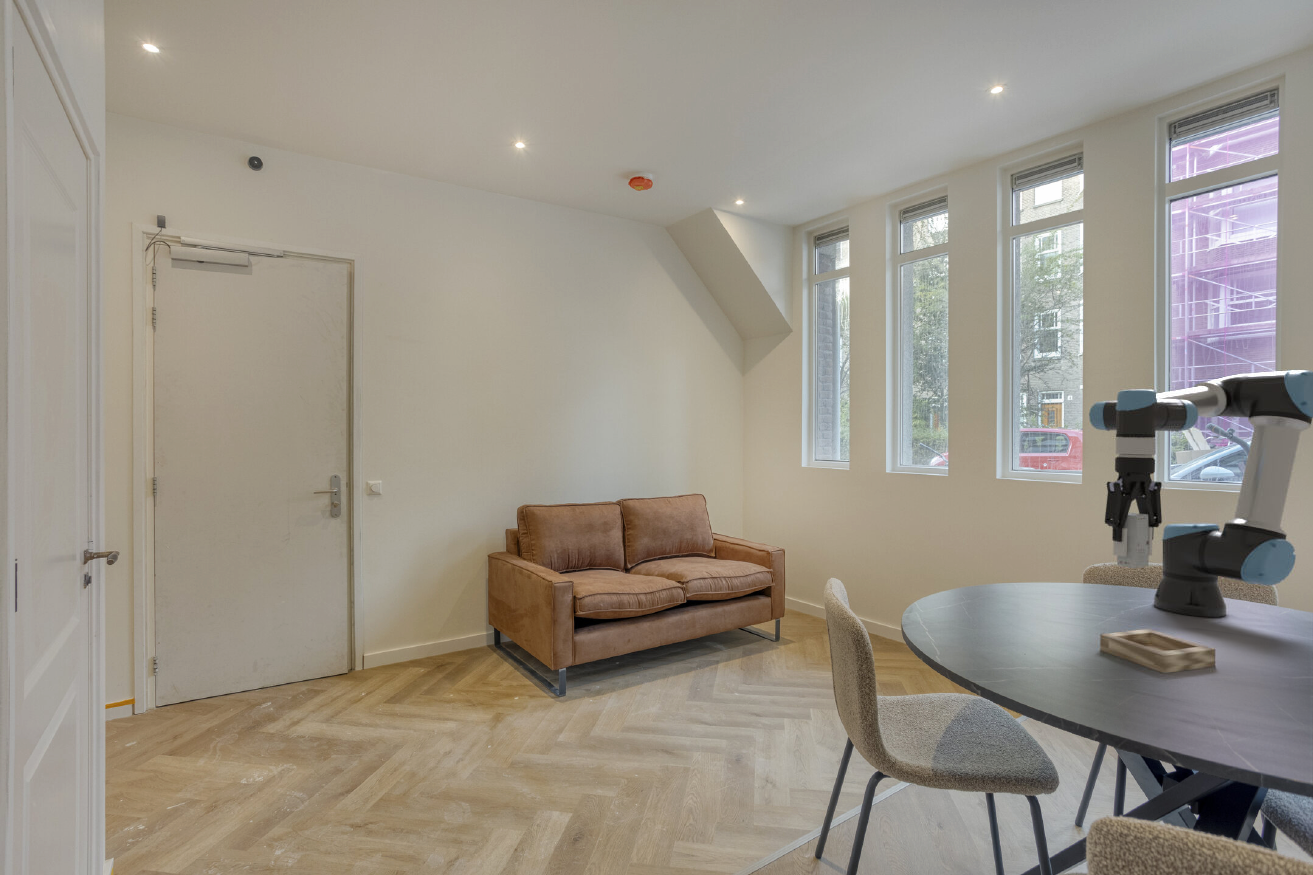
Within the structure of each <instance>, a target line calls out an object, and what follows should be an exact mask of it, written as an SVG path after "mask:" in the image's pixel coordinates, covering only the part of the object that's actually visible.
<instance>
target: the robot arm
mask: <svg viewBox="0 0 1313 875" xmlns="http://www.w3.org/2000/svg"><path fill="white" fill-rule="evenodd" d="M1116 396H1117V397H1116V400H1104V401H1097V402H1096V403H1093V405H1092V406H1091V407H1090V409H1089V412H1088V416H1089V417H1088V418H1089V422H1090V425H1092V427H1093V428H1094V429H1096V430H1099V431H1106V432H1109V431H1116V434H1115V437H1116V438H1115V454H1116V455H1118V456H1116V457H1115V458H1114V459H1115V460H1114V462H1115V463H1114V471H1115V472H1116V473H1118V475H1117V479H1116V481H1107V482H1106V490H1107V495H1106V496H1107V497H1106V507H1105V514H1104V524H1106V525H1107V526H1108V527H1112V539H1111V540H1112V541H1113V547H1112V548H1113V549H1112V555H1114V556H1117V555H1118V556H1122V557H1127V528H1124V526H1125V522H1126V519H1127V516H1128V513H1130V512H1129V511H1130V509H1131V506H1132V503H1133V501H1135V502H1136V506H1137V510H1138V514H1148V533H1149V535H1148V536H1149V556H1153V540H1154V534H1155V533H1154V532H1155V531H1154V528H1159V527H1160V525H1161V524H1162V522H1163V518H1162V503H1161V502H1162V501H1161V491H1162V484H1163V483H1162V482H1161V481H1155V480H1154V481H1153V479H1152V477H1151V475H1152V474H1154V473H1156V472H1155V471H1156V459H1155V457H1153V456H1155V455H1156V449H1157V448H1156V447H1157V446H1156V444H1157V442H1156V440H1157V438H1156V432H1182V431H1187V430H1190V429H1191V428H1193V427H1194V426H1195V425H1196V423H1197V422H1198V419H1199V417H1202V418H1214V417H1215V418H1216V417H1227V418H1228V417H1232V418H1247V421H1248V422H1249V423H1250V425H1251V426H1252V427H1253V432H1252V435H1251V442H1250V445H1249V451H1248V455H1247V459H1246V464H1245V468H1244V472H1243V477H1242V482H1241V487H1240V491H1239V495H1238V499H1237V505H1236V508H1235V512H1234V517H1233V518H1231V519H1230V520H1227V521H1226V522H1224V526H1223V530H1220V529H1221V528H1220V527H1219V526H1220V525H1219V524H1217V523H1201V522H1200V523H1197V522H1196V523H1170V524H1167V525H1166V526H1165V527H1164V528H1163V533H1162V539H1161V541H1162V575H1161V576H1162V577H1161V579H1160V581H1159V585H1158V587H1157V589H1156V591H1155V594H1154V597H1153V598H1154V599H1153V605H1154V606H1155V607H1156V608H1158V609H1161V610H1163V611H1167V612H1170V613H1171V612H1172V613H1176V614H1181V615H1187V616H1193V617H1206V618H1208V617H1209V618H1219V617H1224V616H1226V615H1227V604H1226V603H1225V600H1224V596H1223V594H1222V591H1221V589H1220V586H1219V577H1220V578H1225V579H1230V580H1235V581H1240V582H1245V583H1247V584H1250V585H1262V586H1275V585H1277V584H1280V583H1281V582H1282V581H1284V580H1285V579H1287V578H1288V577H1289V575H1290V574H1291V573H1292V571H1293V568H1294V567H1295V563H1296V556H1297V555H1296V553H1295V550H1296V549H1295V547H1294V546H1293V543H1291V542H1290V541H1288V540H1287V535H1288V534H1287V533H1286V532H1285V530H1284V529H1283V528H1282V527H1281V524H1282V519H1283V513H1284V510H1285V505H1286V500H1287V497H1288V496H1287V495H1288V491H1289V487H1290V481H1291V477H1292V474H1293V470H1294V469H1293V468H1294V463H1295V461H1296V459H1295V458H1296V454H1297V450H1298V446H1299V441H1300V437H1301V433H1302V432H1305V431H1306V430H1309V429H1310V428H1311V426H1312V421H1313V371H1311V370H1307V369H1306V370H1293V369H1290V370H1282V371H1279V370H1278V371H1268V372H1267V371H1265V372H1253V373H1252V372H1251V373H1248V372H1247V373H1239V374H1233V375H1229V376H1225V377H1220V378H1216V379H1212V380H1208V381H1203V382H1200V383H1199V382H1198V383H1196V384H1195V385H1194V386H1192V387H1190V388H1189V387H1188V388H1185V389H1179V390H1173V391H1164V392H1161V393H1159V392H1158V393H1157V392H1156V391H1155V389H1123V390H1120V391H1119V392H1118V393H1117V395H1116ZM1118 521H1119V522H1118Z"/></svg>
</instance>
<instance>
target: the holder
mask: <svg viewBox="0 0 1313 875" xmlns="http://www.w3.org/2000/svg"><path fill="white" fill-rule="evenodd" d="M1099 637H1100V640H1099V642H1100V643H1099V644H1100V645H1099V648H1100V649H1099V650H1100V651H1102V652H1104V653H1107V654H1110V655H1112V656H1114V657H1118V658H1121V659H1123V660H1127V661H1129V662H1132V663H1134V664H1137V665H1141V666H1144V667H1146V668H1148V669H1152V670H1154V671H1156V672H1159V673H1163V674H1169V673H1175V672H1182V671H1189V670H1196V669H1205V668H1210V667H1216V648H1212V647H1209V646H1206V645H1203V644H1200V643H1196V642H1193V641H1190V640H1187V639H1183V638H1181V637H1180V638H1179V637H1176V636H1174V635H1171V634H1167V633H1163V632H1160V631H1158V630H1153V629H1150V628H1146V629H1145V628H1144V629H1138V630H1137V629H1135V630H1128V631H1119V632H1111V633H1110V632H1109V633H1102V634H1100V636H1099Z"/></svg>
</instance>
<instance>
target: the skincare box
mask: <svg viewBox="0 0 1313 875" xmlns="http://www.w3.org/2000/svg"><path fill="white" fill-rule="evenodd" d="M1118 522H1119V521H1118ZM1124 528H1127V557H1122V556H1118V555H1116V560H1117V561H1116V564H1117V566H1120V567H1124V568H1131V569H1139V568H1140V569H1141V568H1146V567H1148V566H1150V564H1149V561H1150V560H1149V559H1150V558H1149V536H1148V535H1149V533H1148V514H1139V512H1137V513H1136V512H1135V513H1134V512H1129V513H1128V516H1127V519H1126V522H1125V526H1124Z"/></svg>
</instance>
